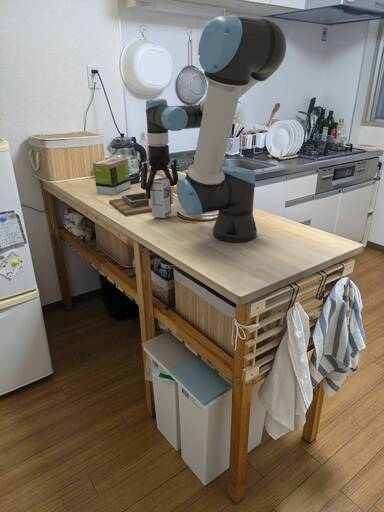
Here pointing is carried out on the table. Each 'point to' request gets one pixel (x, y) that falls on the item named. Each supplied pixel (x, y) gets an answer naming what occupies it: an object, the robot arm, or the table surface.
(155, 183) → the syrup box
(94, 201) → the table surface
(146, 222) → the table surface
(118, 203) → the wooden tray on board
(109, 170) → the tea box
